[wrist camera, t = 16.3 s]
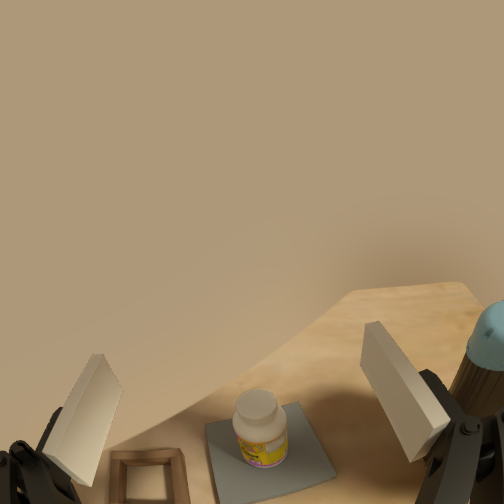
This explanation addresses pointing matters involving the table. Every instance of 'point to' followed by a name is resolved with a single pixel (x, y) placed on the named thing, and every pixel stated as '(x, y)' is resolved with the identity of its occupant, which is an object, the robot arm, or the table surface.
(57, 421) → the robot arm
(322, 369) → the table surface
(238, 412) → the supplement bottle
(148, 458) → the locating collar
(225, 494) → the slate mat
